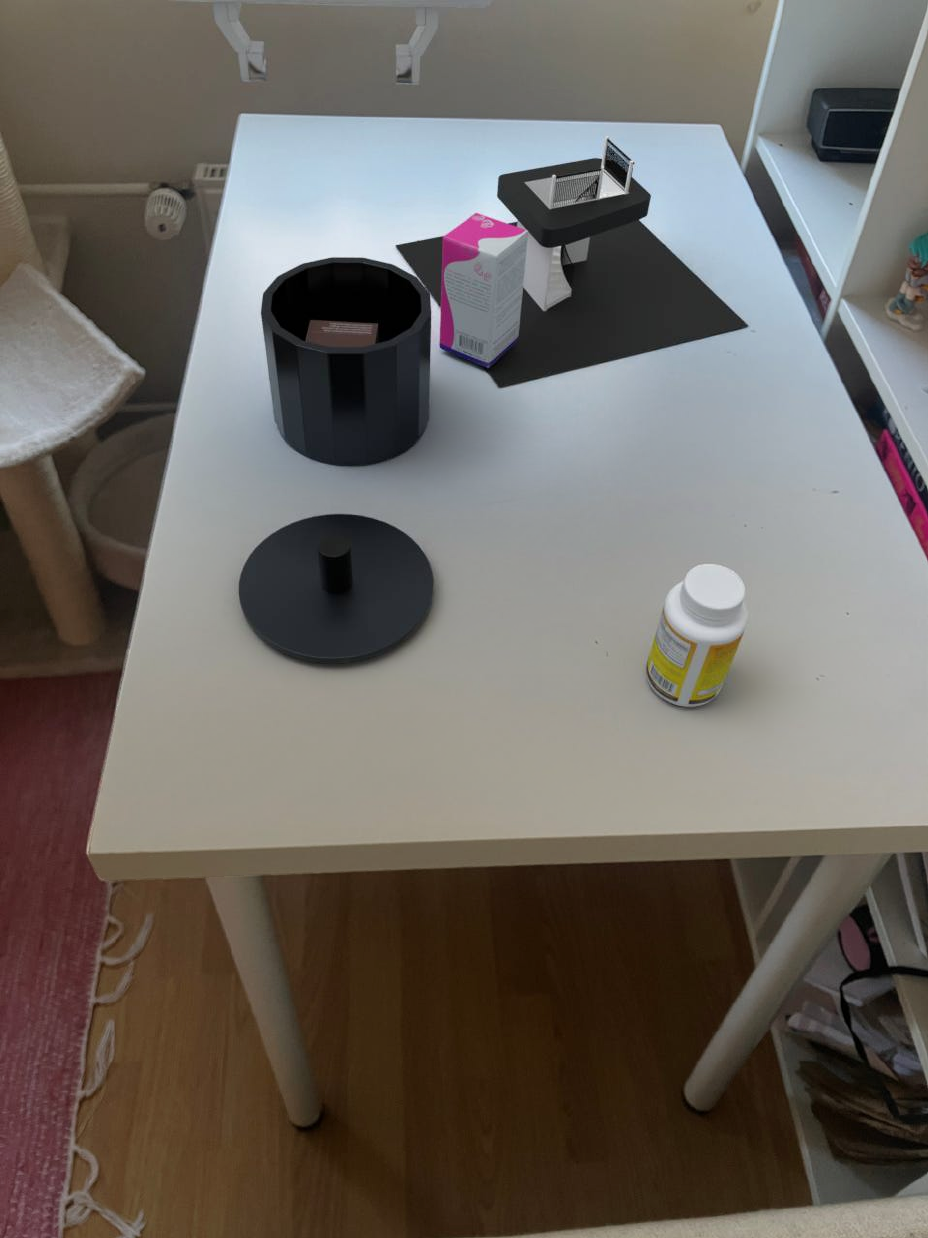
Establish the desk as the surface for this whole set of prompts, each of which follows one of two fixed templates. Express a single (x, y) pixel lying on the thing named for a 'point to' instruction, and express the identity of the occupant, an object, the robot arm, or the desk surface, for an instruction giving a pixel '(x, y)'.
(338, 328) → the box
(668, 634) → the supplement bottle
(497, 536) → the desk surface
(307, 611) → the bin lid
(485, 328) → the supplement box
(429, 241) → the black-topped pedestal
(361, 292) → the trash can
